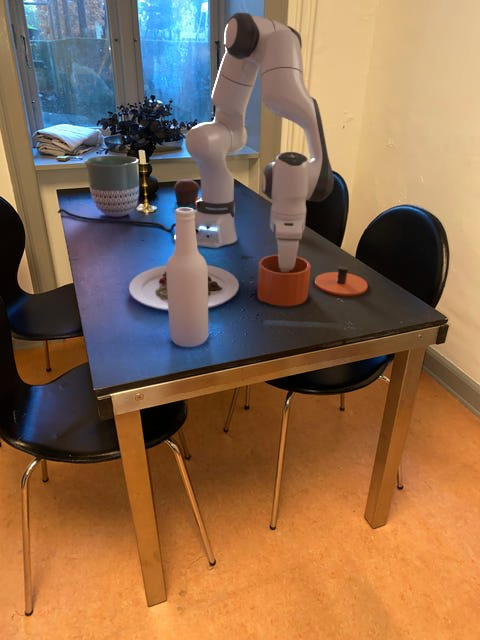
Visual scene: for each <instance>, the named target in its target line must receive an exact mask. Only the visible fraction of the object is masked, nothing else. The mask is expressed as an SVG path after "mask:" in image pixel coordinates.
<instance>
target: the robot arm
mask: <svg viewBox="0 0 480 640" xmlns="http://www.w3.org/2000/svg"><path fill="white" fill-rule="evenodd" d="M223 45H224V48H225V53H224V55H223V58H222V61H221V63H220V66H219V70H218V73H217V77H216V80H215V83H214V87H213V90H212V94H211V100H212V103H213V104H214V107H215V110H214V111H215V114H214V117H213V118H214V119H213V120H212V121H209V122H201V123H199V124H197V125H195V126H193V127H192V128H190V129H189V130H188V131H187V133H186V134H185V138H184V143H185V149H186V151H187V153H188V155H189V156H190V157H191V158H192V159H193V160H194V162H195V163H196V166H197V169H198V172H199V178H200V196H198V197H197V198H196V204H195V209H194V210H195V213H194V215H195V219H194V221H195V230H196V240H197V247H203V248H212V249H217V248H220V247H222V246H228V245H232V244H234V243H236V242H237V241H238V236H237V231H236V225H235V214H236V203H235V202H236V200H235V198H234V197H235V195H234V189H235V187H234V186H235V185H234V183H235V178H234V174H232V173H231V172H230V171H229V169H228V166H227V165H228V164H227V161H226V157H228V156H231V155H234V154H236V153H237V152H239V151H241V150H242V149H243V148H244V147H245V146H246V144H247V141H248V132H247V130H246V127H245V120H246V112H247V107H248V104H249V101H250V99H251V95H252V92H253V89H254V86H255V83H256V80H257V77H258V72H259V70H260V75H259V78H260V79H259V80H260V93H261V99H262V102H263V103H264V105H265V107H267V109H268V110H270V111H271V112H272V113H273V114H275V115H276V116H278V117H281V118H283V119H286V120H289V121H290V122H292V123H294V124H296V125H298V126H299V127H300V128H301V129H302V130H303V132H304V134H305V138H306V143H307V149H308V154H309V159H310V160H309V159H308V157H307V156H306V155H304V154H302V153H299V152H297V151H285V152H282V153H279V154H278V155H277V156H276V158H275V161H273V162H270V163H269V164H267V165H266V166H265V167H264V168H263V170H262V185H261V192H262V193H263V195H265V197H267V198H268V199H270V200H272V204H271V207H270V216H269V217H270V218H269V229H270V230H272V232H273V234H274V238H275V239H276V244H277V245H276V247H277V255H278V263H279V269H281V273H289V270H293V268H294V266H295V261H296V256H297V257H298V251H299V245H300V240H302V238H303V233H304V230H305V229H306V219H307V218H306V217H307V205H306V203H307V201H308V202H319V203H321V202H322V201H324V200H325V199H326V198H328V197H329V196H330V195H331V193H332V191H333V189H334V186H335V185H334V183H335V180H334V171H333V169H332V164H331V162H330V159H329V153H328V148H327V142H326V137H325V132H324V131H325V130H324V126H323V120H322V115H321V111H320V107H319V104H318V102H317V100H316V98H314V97H313V96H311V94H310V93H309V91H308V89H307V87H306V84H305V77H304V61H303V54H302V48H303V43H302V36H301V34H300V33H299V32H298V31H297V30H296V29H295V28H294V27H291V26H290V25H285V24H283V23H281V22H279V21H277V20H274V19H271V18H266V17H262V16H258V15H251V14H250V13H248V12H236V13H233V15H231V16H230V17H229V19H228V21H227V22H226V25H225V28H224V31H223ZM60 213H64V214H66V215H67V216H70V217H73V218H77V219H80V220H85V221H92V222H103V223H119V224H120V223H123V224H139V225H153V226H158V227H160V228H162V230H164V231H167V232H172V231H173V230H174V228H175V227H176V222H175V223H172V224H171V226H170V228H167V227H166V226H165V225H164V224H162V223H160V222H154V221H145V220H144V221H143V220H129V219H128V220H126V219H107V218H106V219H105V218H96V217H95V218H94V217H87V216H82V215H77V214H74V213H71V212H69V211H67V210H66V209H64V208H61V209H59V210H58V211H57V214H60ZM173 241H174V242H175V235H174V236H173Z"/></svg>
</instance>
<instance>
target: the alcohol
mask: <svg viewBox="0 0 480 640" xmlns="http://www.w3.org/2000/svg"><path fill="white" fill-rule="evenodd" d="M195 210H196V209H194V208H192V207H188V206H185V207H177V208H176V209H175V210H174V213H175V215H174V219H175V223H176V226H175V229H174V230H175V231H174V232H175V233H174V236H175V241H174V249H173V250H174V251H173V253H172V254H171V256H170V257H169V258H168V260H167V262H166V265H167V267H166V277H167V294H168V310H167V311H168V324H169V325H168V326H169V337H170V340H171V341H172V342H173V343H174V344H175V345H176V346H179V347H182V348H194V347H198V346H200V345H203V344H204V343H205V342H206V341H207V339H208V337H209V308H208V268H207V265H208V264H207V261H206V259H205V258H204V256H203V255H202V254H201V253H200V251H199V249H198V246H197V240H196V230H195V221H194V219H195V215H194V213H195Z"/></svg>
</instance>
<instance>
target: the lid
mask: <svg viewBox="0 0 480 640" xmlns="http://www.w3.org/2000/svg"><path fill="white" fill-rule="evenodd" d="M348 271H349V267H348V266H344V265H340V266H338V268H337V271H330V272H324V273H321V274H319V275H317V276H316V277H315V280H314V284H315V286H316V287H317V288H318V289H319V290H320V291H322V292H325V293H327V294H330V295H335V296H340V297H352V296H354V297H355V296H359V295H362V294H364V293H365V292H366V291H367V290H368V287H369V286H368V285H369V284H368V282H367V281H366V280H365V279H364V278H362V277H360V276H358V275H356V274H353V273H348Z"/></svg>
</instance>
